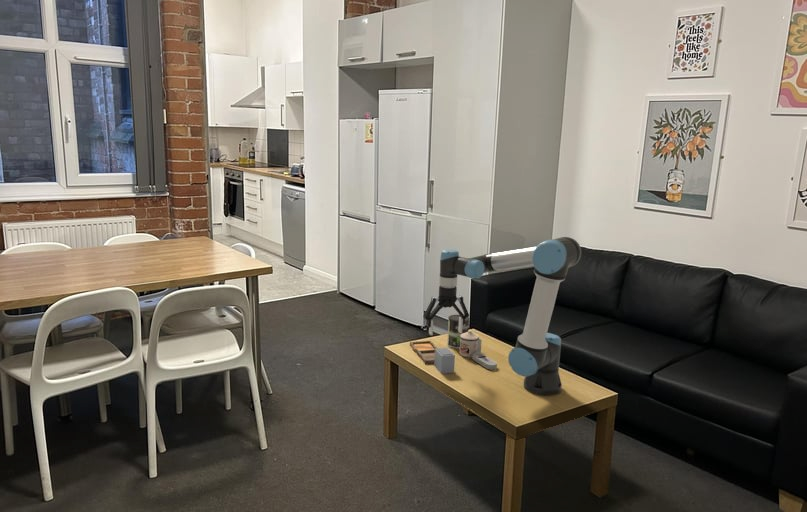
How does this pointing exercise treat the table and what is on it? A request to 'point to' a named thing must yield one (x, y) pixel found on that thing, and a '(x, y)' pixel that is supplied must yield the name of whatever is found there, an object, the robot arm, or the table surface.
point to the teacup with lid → (468, 343)
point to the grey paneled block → (444, 360)
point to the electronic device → (483, 358)
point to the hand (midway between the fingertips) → (445, 333)
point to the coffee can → (456, 330)
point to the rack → (424, 350)
